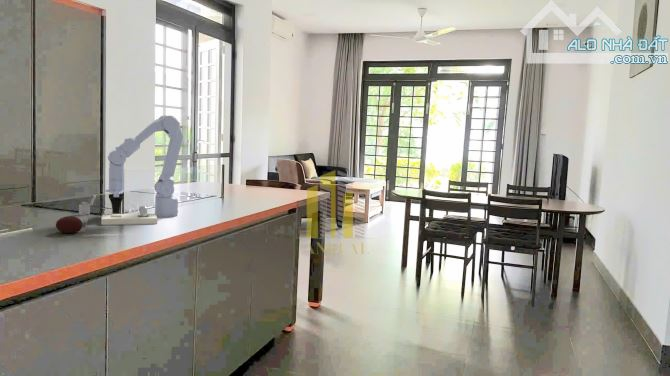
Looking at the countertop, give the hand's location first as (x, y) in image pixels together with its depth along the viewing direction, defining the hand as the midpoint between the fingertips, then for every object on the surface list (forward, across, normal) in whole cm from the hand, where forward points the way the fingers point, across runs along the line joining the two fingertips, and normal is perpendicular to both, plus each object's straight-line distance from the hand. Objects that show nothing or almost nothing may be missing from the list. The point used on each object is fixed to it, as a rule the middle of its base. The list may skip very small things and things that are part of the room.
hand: (115, 211), depth 196 cm
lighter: (+3, -11, -11) cm, 16 cm away
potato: (+3, +25, -15) cm, 29 cm away
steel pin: (+2, +11, +10) cm, 15 cm away
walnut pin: (+3, 0, 0) cm, 3 cm away
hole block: (+3, +11, +5) cm, 12 cm away
